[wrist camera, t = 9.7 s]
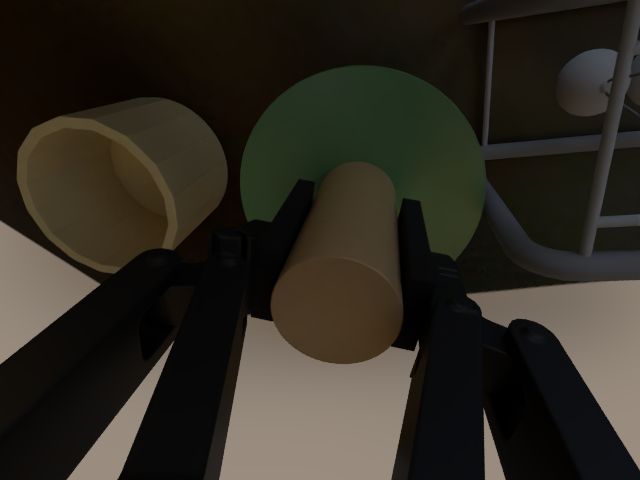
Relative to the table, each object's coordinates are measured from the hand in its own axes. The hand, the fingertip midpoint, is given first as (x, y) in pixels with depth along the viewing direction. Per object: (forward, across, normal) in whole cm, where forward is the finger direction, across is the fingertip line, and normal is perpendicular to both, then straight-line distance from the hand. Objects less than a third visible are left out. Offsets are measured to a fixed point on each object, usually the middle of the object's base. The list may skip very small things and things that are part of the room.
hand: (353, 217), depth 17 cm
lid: (+3, 0, 0) cm, 3 cm away
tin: (+15, -17, -5) cm, 23 cm away
